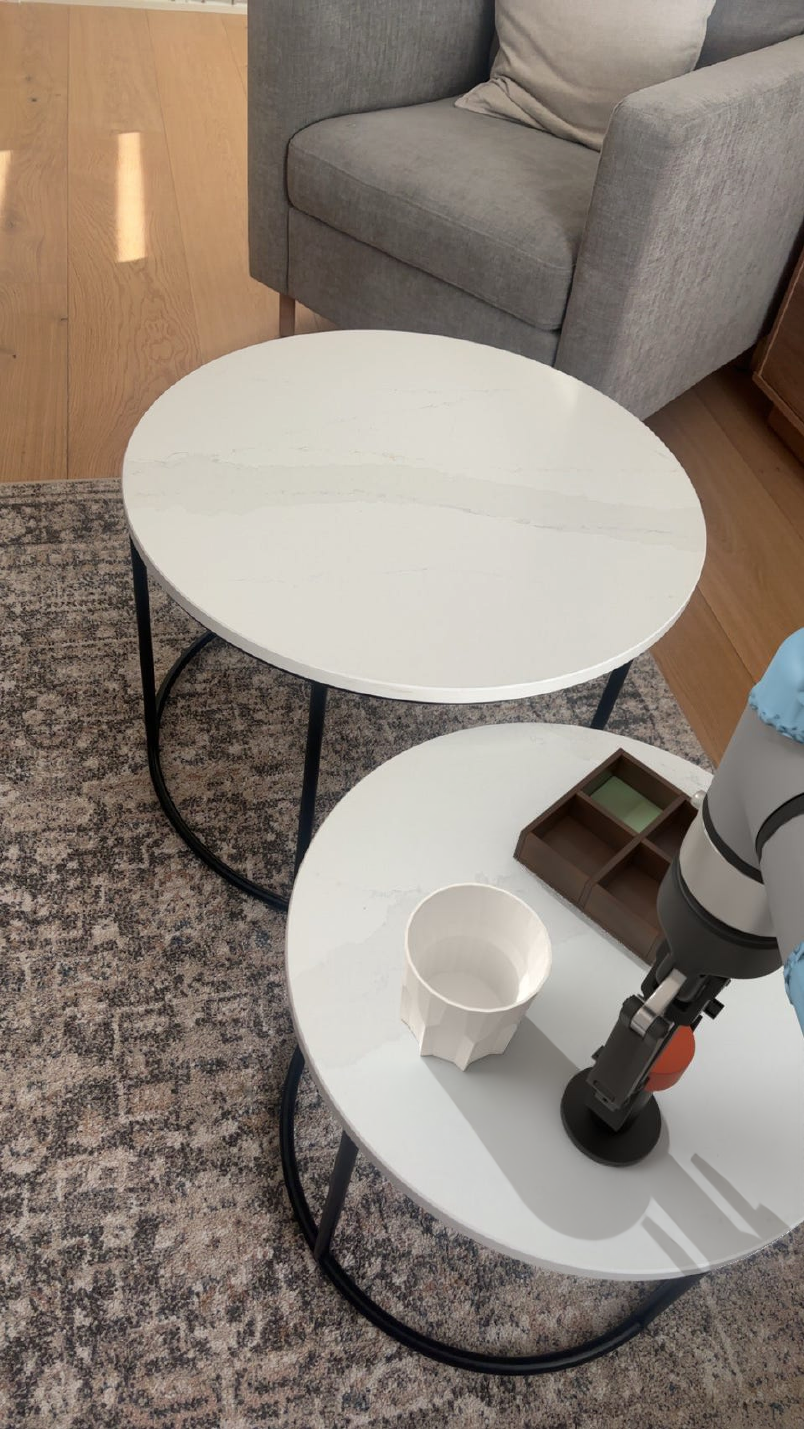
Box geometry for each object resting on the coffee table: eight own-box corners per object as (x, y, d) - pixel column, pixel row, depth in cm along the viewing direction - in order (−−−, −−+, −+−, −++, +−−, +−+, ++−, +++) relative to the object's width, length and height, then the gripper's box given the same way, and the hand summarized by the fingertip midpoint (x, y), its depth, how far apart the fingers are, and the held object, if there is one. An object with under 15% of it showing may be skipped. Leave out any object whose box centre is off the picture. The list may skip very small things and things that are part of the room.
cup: (548, 1049, 80) (579, 979, 72) (428, 1102, 76) (448, 1034, 69) (481, 940, 85) (504, 865, 78) (366, 984, 82) (379, 910, 74)
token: (696, 1085, 69) (708, 1068, 67) (622, 1096, 68) (632, 1079, 66) (667, 1014, 72) (678, 995, 70) (597, 1023, 71) (606, 1005, 69)
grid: (743, 868, 93) (757, 843, 91) (650, 966, 85) (663, 942, 83) (610, 772, 99) (620, 746, 97) (512, 856, 91) (520, 830, 89)
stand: (673, 1158, 75) (716, 1098, 68) (577, 1174, 73) (612, 1114, 67) (638, 1063, 80) (676, 998, 73) (548, 1076, 78) (577, 1011, 71)
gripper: (772, 752, 63) (659, 964, 79) (583, 936, 53) (499, 1135, 69) (891, 830, 60) (747, 1034, 76) (714, 1042, 49) (592, 1224, 66)
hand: (629, 1082), depth 73 cm, fingers open, 5 cm apart
